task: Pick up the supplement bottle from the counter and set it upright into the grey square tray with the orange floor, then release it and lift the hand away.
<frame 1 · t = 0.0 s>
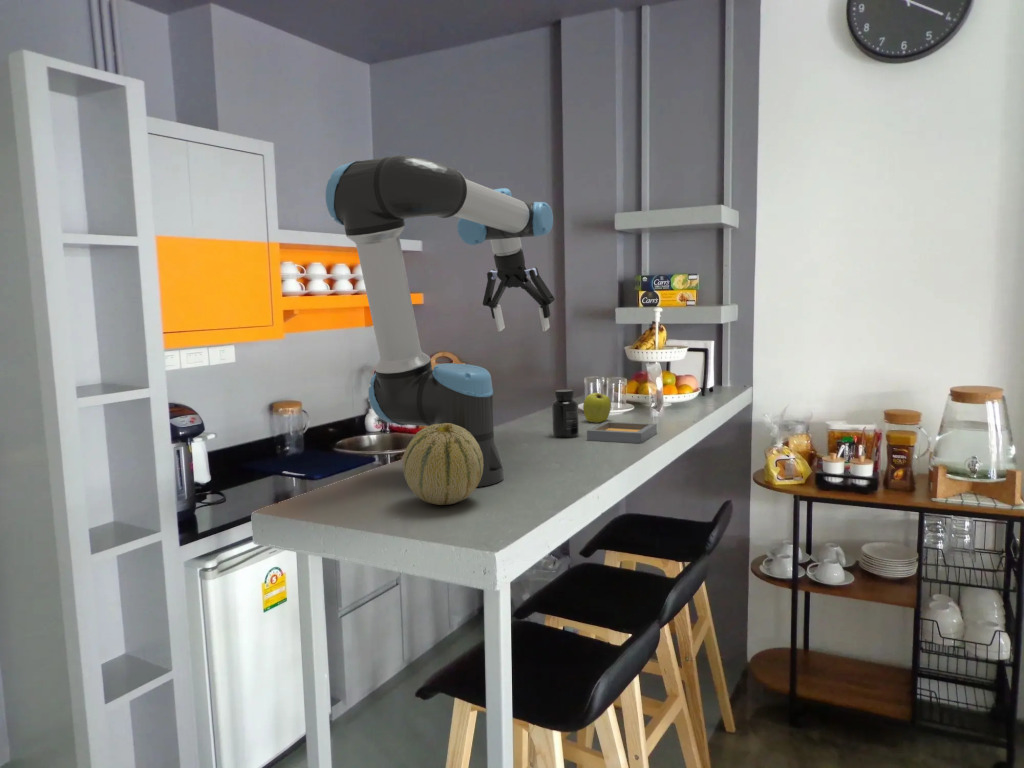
hand: (523, 329, 200), 28 cm above the breakfast bar, tool tilted 20°, fingers open, 13 cm apart
supplement bottle: (565, 436, 198), on the breakfast bar
cantaloupe: (444, 504, 138), on the breakfast bar
grey square tray: (622, 436, 194), on the breakfast bar
apple: (597, 422, 218), on the breakfast bar
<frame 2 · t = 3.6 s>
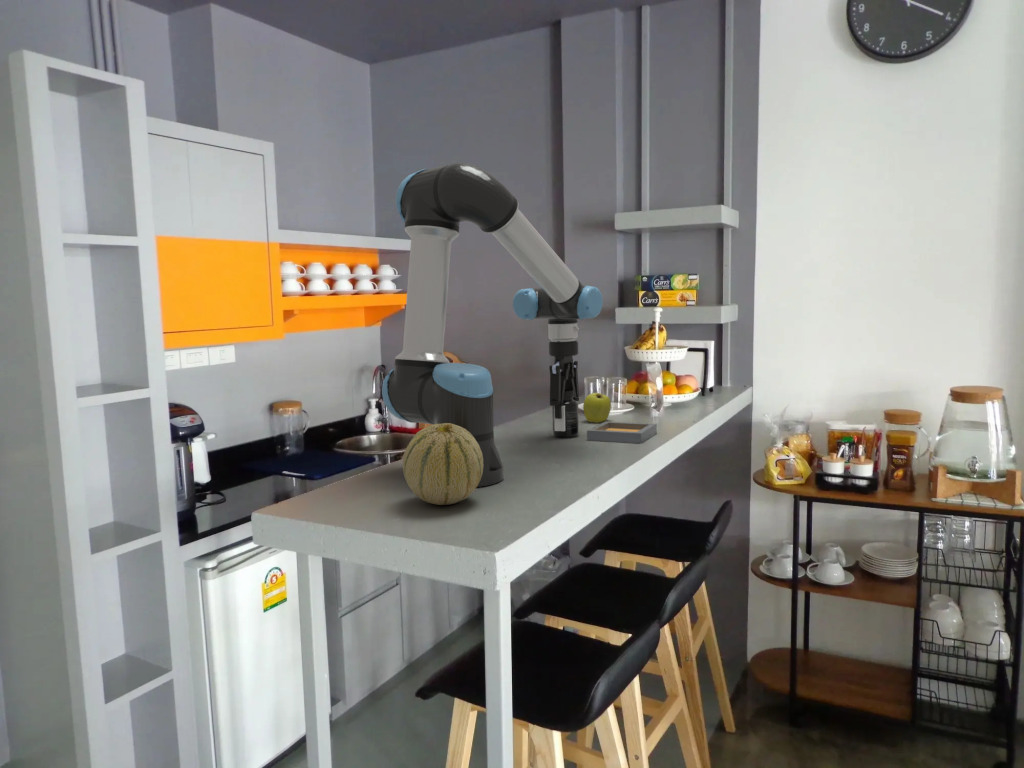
hand: (565, 428, 198), 2 cm above the breakfast bar, tool pointing down, fingers closed on supplement bottle, 7 cm apart
supplement bottle: (565, 436, 198), on the breakfast bar, touching gripper
everything else where it was.
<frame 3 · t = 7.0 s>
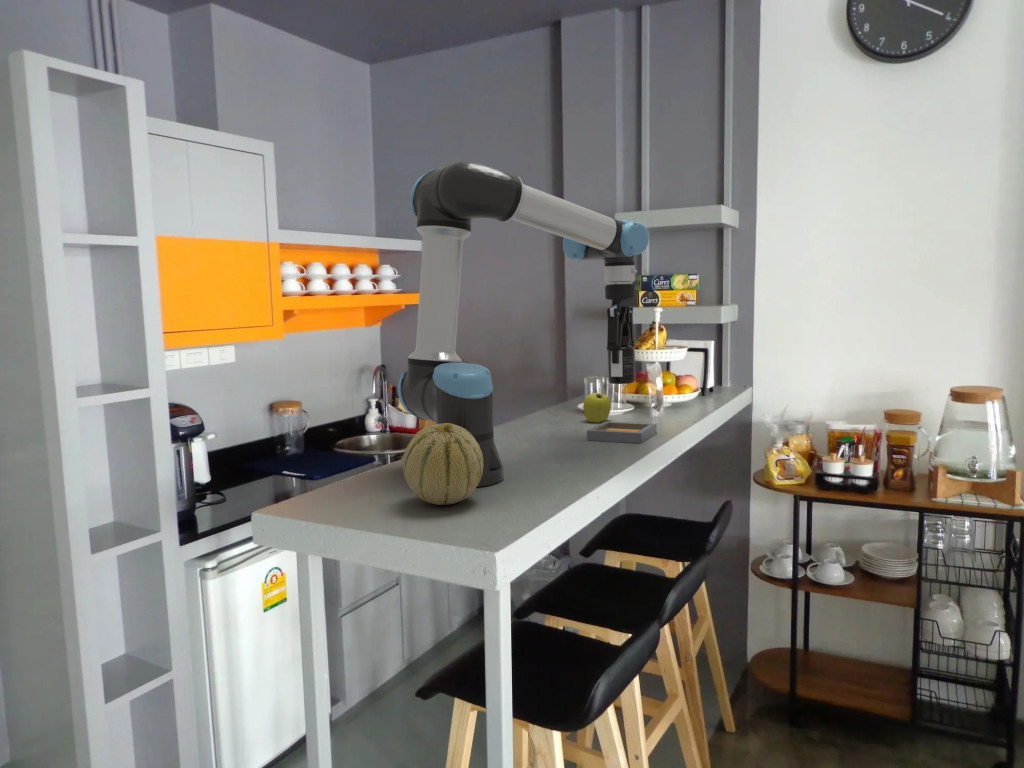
hand: (621, 374, 193), 16 cm above the breakfast bar, tool pointing down, fingers closed on supplement bottle, 7 cm apart
supplement bottle: (621, 383, 193), point 14 cm above the breakfast bar, touching gripper
everything else where it was.
when the fingers open (4 cm above the breakfast bar, at t = 10.2 s): supplement bottle drops 1 cm, resting on grey square tray.
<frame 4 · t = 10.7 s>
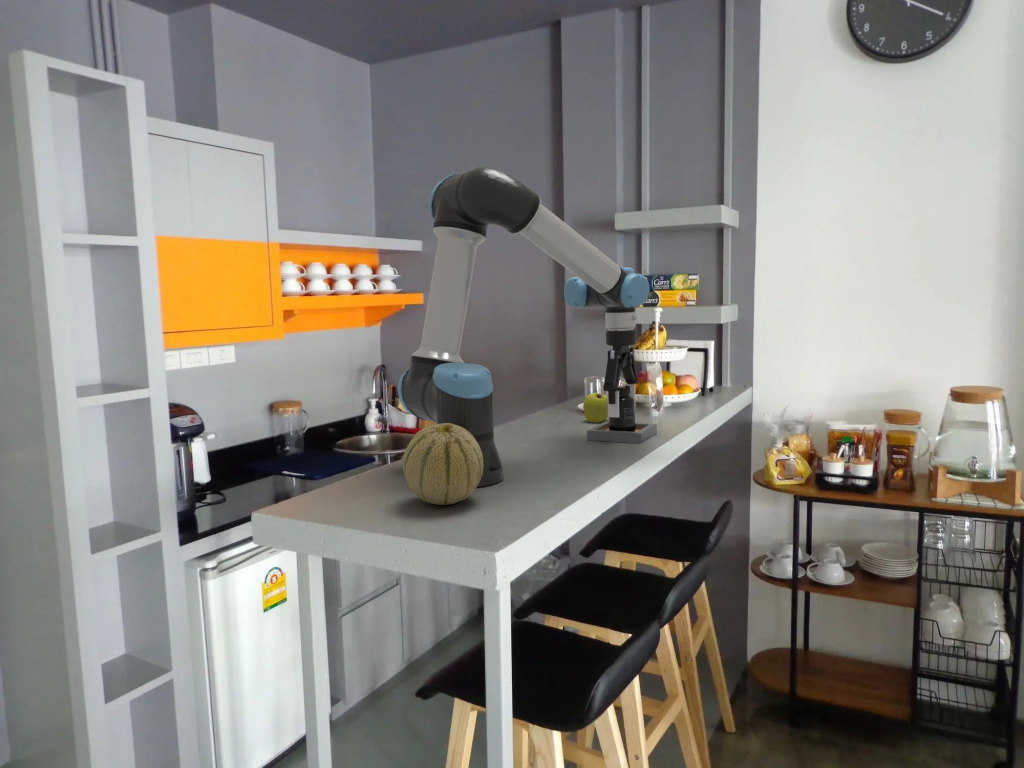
hand: (622, 412, 194), 6 cm above the breakfast bar, tool pointing down, fingers open, 13 cm apart
supplement bottle: (622, 433, 194), point 1 cm above the breakfast bar, touching grey square tray
everything else where it was.
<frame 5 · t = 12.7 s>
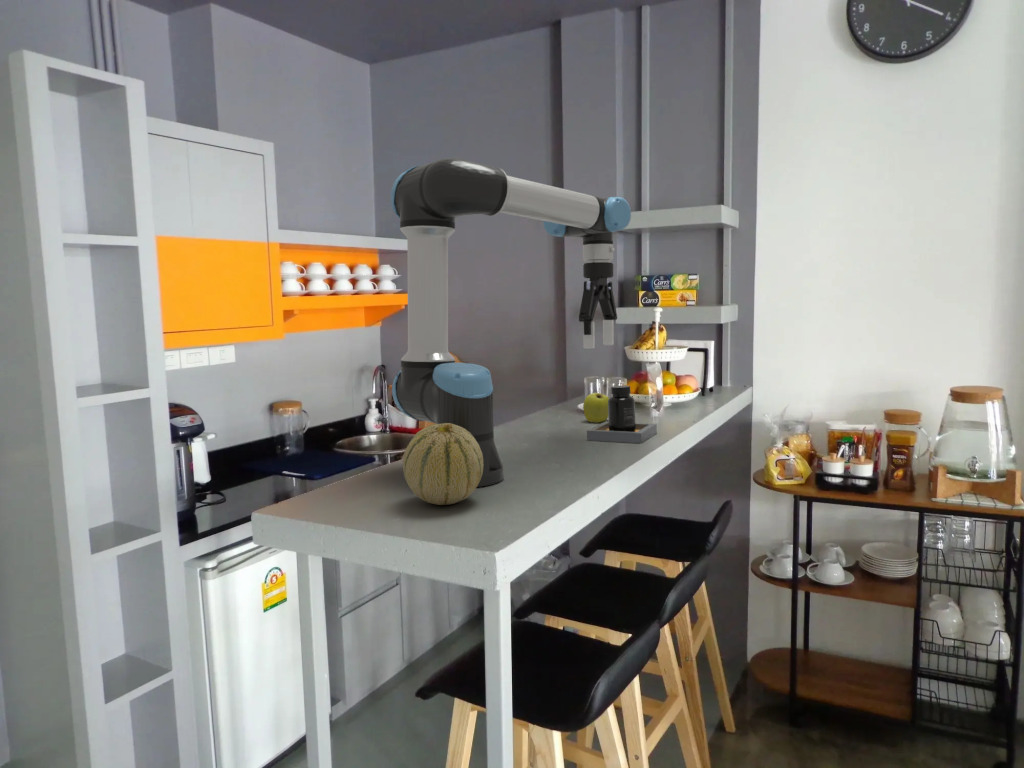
hand: (598, 346, 193), 23 cm above the breakfast bar, tool pointing down, fingers open, 13 cm apart
nothing on the breakfast bar moved.
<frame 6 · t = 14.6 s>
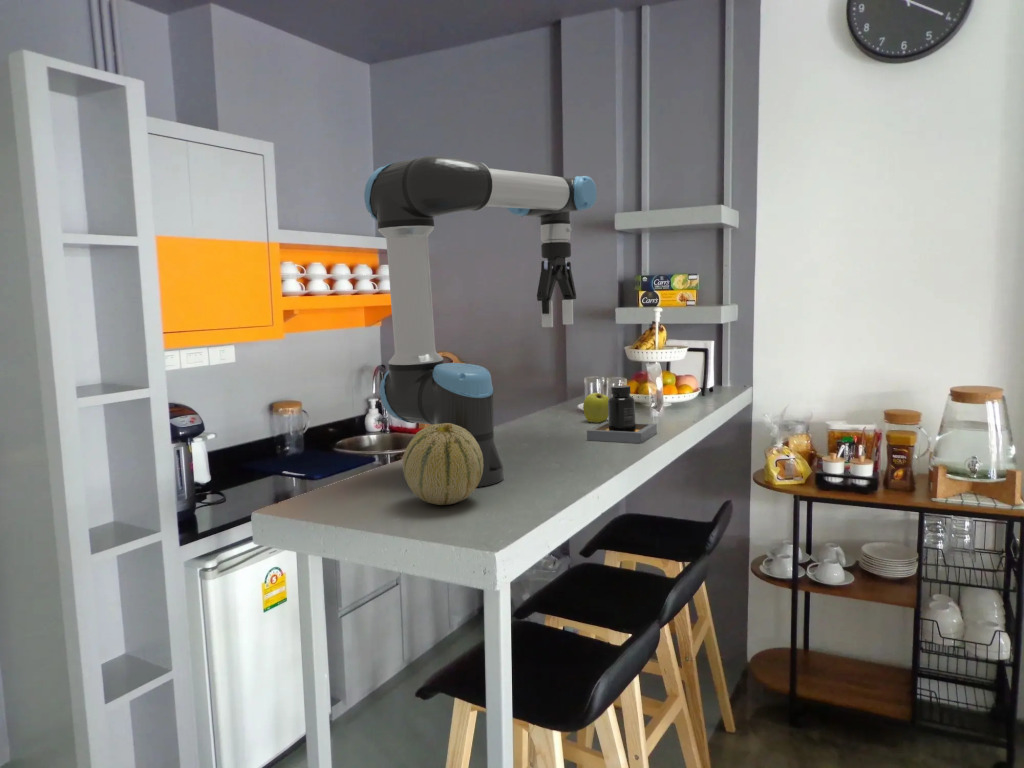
hand: (558, 325, 195), 29 cm above the breakfast bar, tool pointing down, fingers open, 13 cm apart
nothing on the breakfast bar moved.
at the end: supplement bottle 0.1 cm off-centre on the grey square tray, point 0.8 cm above the grey square tray's base; supplement bottle tilted 0°; the gripper is holding nothing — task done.
